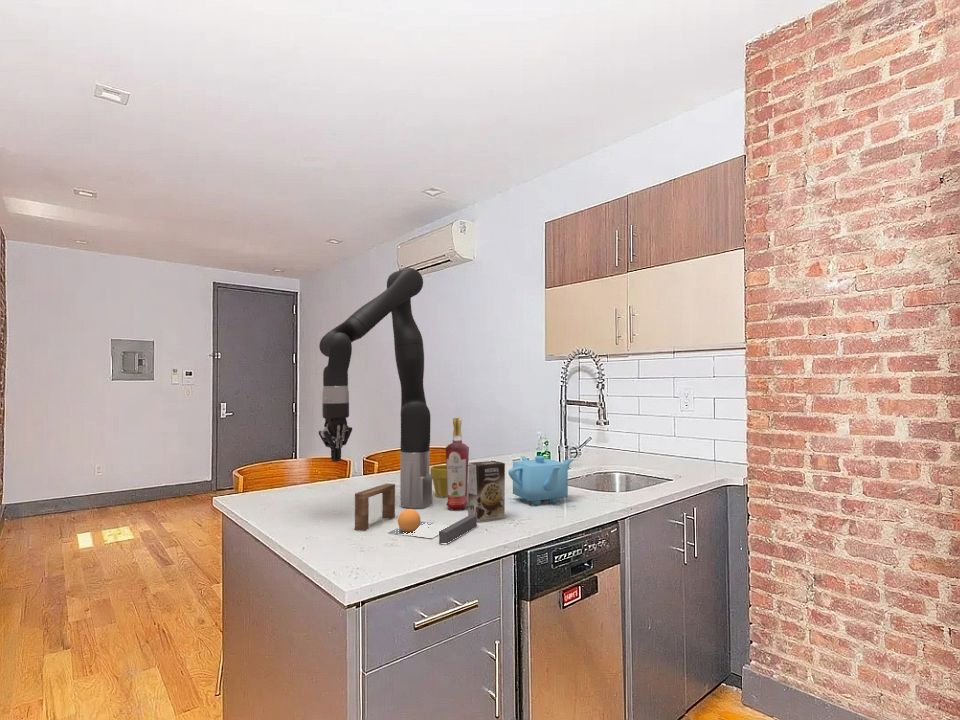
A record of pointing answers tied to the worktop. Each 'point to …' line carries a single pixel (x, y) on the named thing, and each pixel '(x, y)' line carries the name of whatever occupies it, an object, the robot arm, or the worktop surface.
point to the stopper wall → (457, 529)
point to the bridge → (363, 504)
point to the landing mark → (405, 532)
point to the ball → (409, 520)
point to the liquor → (457, 469)
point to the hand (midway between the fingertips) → (336, 461)
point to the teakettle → (540, 479)
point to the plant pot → (439, 480)
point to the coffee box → (486, 490)
